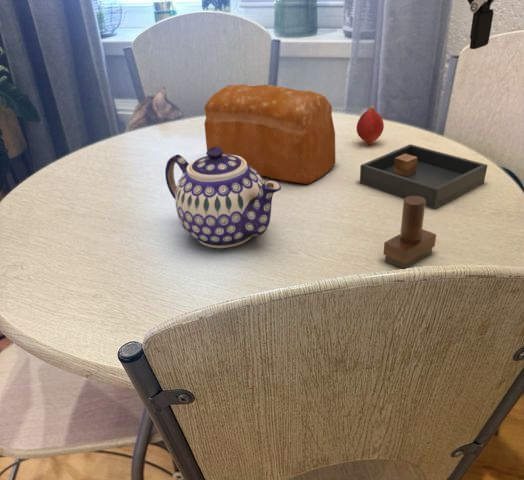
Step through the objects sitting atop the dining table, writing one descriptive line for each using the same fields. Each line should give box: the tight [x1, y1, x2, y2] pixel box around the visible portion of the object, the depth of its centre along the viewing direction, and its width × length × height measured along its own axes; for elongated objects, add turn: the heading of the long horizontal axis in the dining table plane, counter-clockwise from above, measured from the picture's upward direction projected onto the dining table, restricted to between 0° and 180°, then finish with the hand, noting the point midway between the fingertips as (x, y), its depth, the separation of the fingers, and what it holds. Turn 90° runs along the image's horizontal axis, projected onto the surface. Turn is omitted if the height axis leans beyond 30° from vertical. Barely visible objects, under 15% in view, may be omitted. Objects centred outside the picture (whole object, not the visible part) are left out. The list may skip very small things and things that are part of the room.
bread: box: [204, 83, 336, 185], centre depth 109 cm, size 14×26×16 cm, turn 55°
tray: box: [359, 143, 488, 210], centre depth 100 cm, size 18×15×4 cm
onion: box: [356, 105, 385, 145], centre depth 117 cm, size 6×6×8 cm
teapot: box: [164, 147, 282, 249], centre depth 86 cm, size 25×15×15 cm, turn 48°
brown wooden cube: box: [394, 154, 417, 177], centre depth 102 cm, size 3×3×3 cm
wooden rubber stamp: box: [383, 196, 437, 270], centre depth 78 cm, size 7×4×9 cm, turn 129°
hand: (512, 50), depth 66 cm, fingers open, 9 cm apart
